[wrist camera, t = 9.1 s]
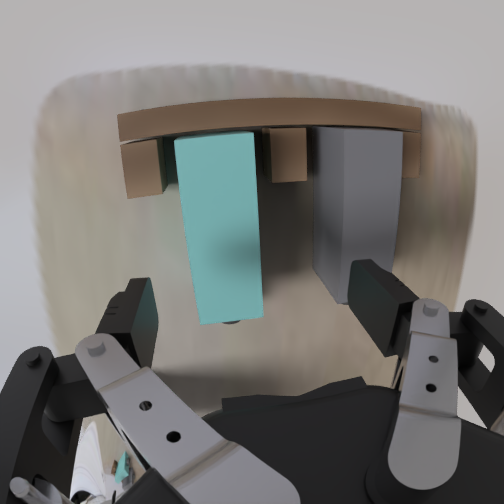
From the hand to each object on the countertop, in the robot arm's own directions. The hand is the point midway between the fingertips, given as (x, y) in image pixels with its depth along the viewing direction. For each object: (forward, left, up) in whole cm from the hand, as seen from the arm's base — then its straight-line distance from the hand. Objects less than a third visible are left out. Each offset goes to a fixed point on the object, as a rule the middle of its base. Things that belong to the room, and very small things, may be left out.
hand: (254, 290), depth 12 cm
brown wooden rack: (+5, -3, -9) cm, 11 cm away
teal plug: (+1, +1, -9) cm, 9 cm away
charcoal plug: (+1, -7, -9) cm, 12 cm away
